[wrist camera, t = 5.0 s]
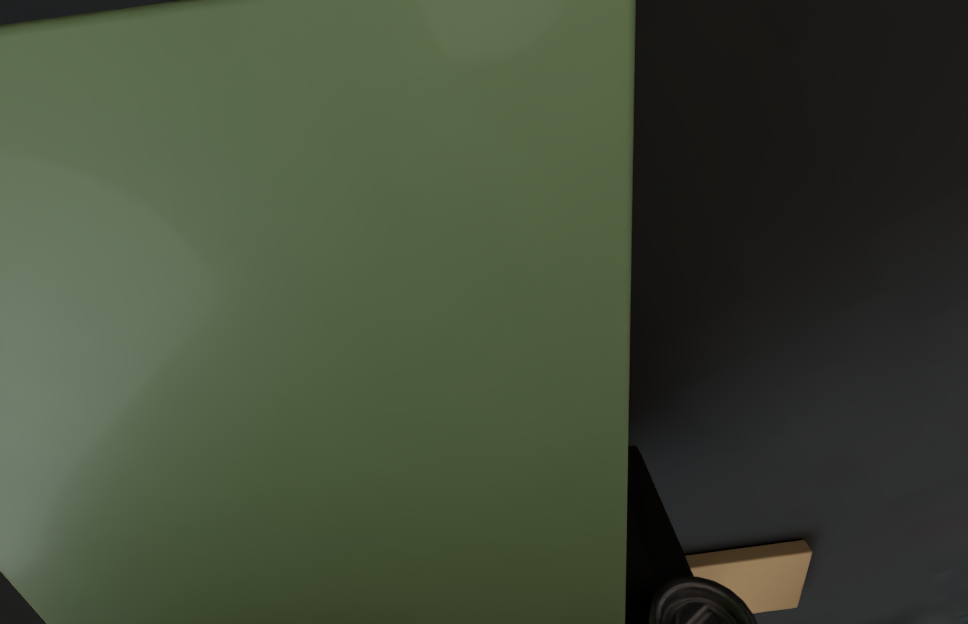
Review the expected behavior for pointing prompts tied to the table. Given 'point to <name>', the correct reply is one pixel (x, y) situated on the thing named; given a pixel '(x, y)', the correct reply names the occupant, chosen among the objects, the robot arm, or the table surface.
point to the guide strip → (758, 573)
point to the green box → (317, 311)
